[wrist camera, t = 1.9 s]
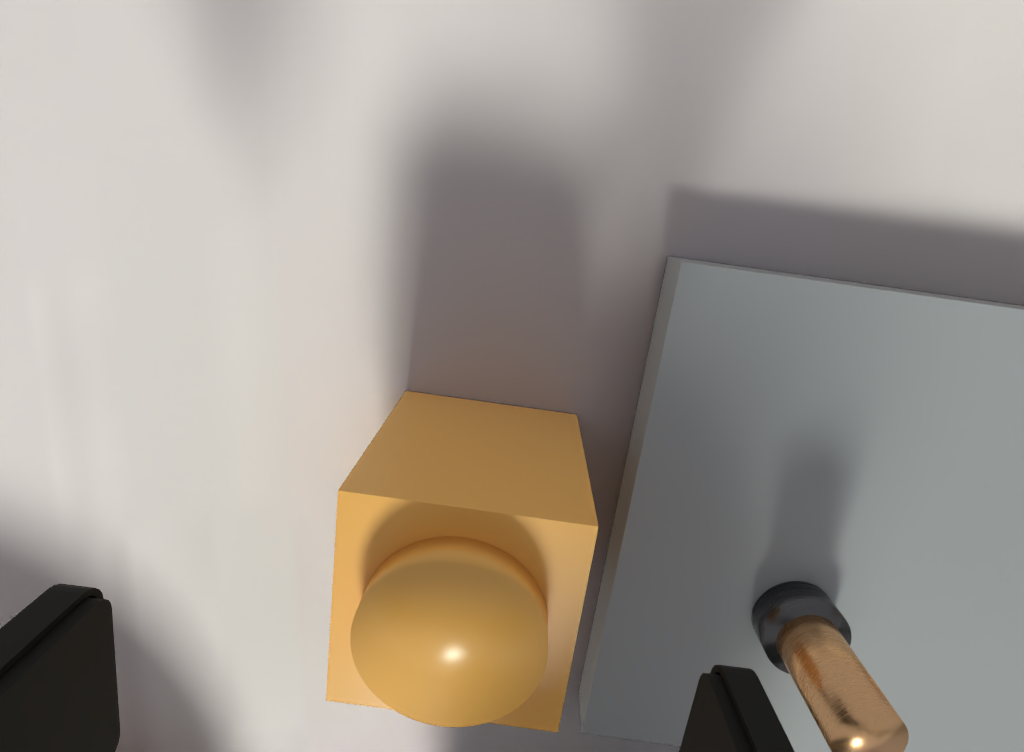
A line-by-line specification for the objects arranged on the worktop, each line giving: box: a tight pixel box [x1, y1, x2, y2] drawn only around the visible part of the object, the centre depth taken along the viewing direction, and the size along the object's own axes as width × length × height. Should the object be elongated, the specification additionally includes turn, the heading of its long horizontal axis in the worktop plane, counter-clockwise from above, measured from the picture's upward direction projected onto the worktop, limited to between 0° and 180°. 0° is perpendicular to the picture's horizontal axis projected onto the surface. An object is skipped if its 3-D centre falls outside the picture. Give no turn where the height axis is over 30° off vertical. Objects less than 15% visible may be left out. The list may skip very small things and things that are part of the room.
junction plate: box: [578, 256, 1024, 752], centre depth 17 cm, size 20×14×2 cm
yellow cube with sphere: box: [326, 391, 599, 732], centre depth 14 cm, size 5×5×7 cm
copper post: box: [751, 581, 909, 752], centre depth 15 cm, size 2×2×6 cm
